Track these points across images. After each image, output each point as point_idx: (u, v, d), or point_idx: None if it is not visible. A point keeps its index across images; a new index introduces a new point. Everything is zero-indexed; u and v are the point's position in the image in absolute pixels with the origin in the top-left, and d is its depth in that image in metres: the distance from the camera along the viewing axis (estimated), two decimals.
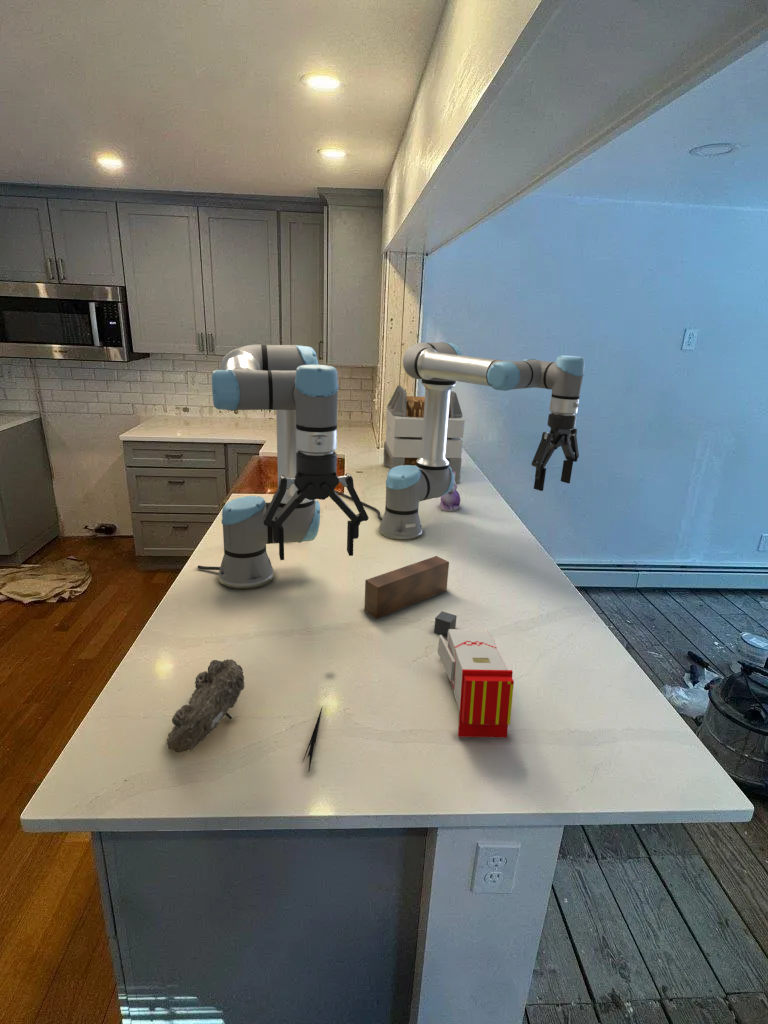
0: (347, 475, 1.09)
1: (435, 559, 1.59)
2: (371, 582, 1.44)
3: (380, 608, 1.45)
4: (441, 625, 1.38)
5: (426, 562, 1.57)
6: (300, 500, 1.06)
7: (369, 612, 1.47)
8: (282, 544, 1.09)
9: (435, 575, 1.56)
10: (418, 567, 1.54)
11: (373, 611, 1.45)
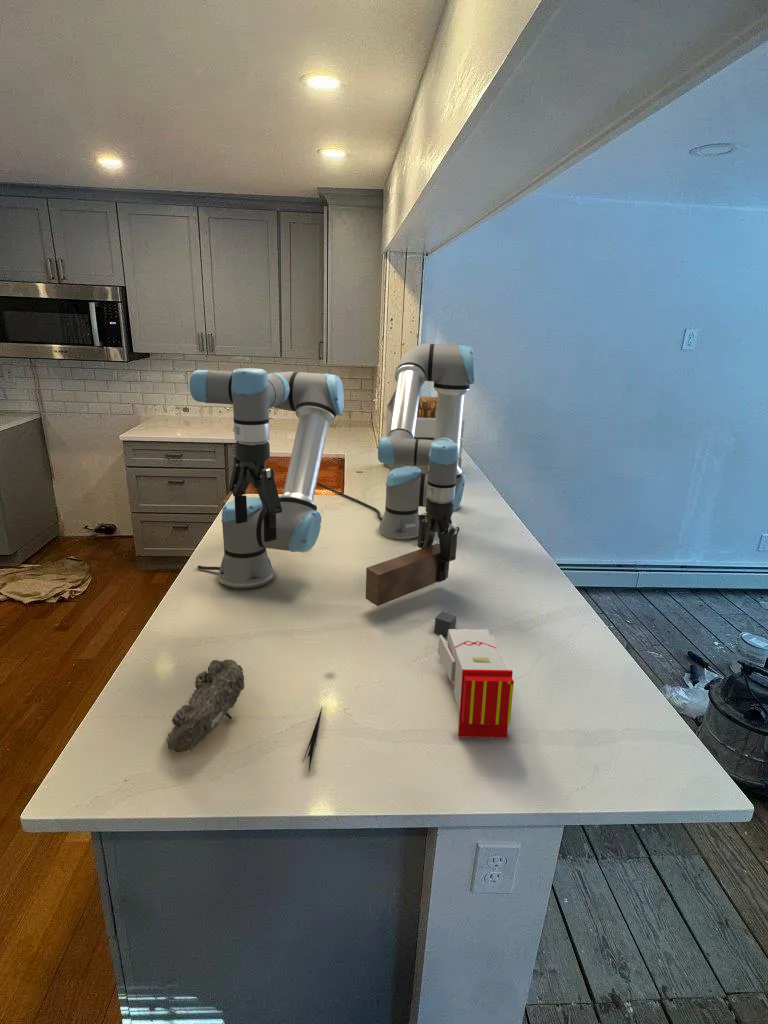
0: (266, 469, 1.22)
1: (436, 546, 1.58)
2: (372, 570, 1.43)
3: (381, 596, 1.44)
4: (441, 625, 1.38)
5: (427, 549, 1.56)
6: (239, 478, 1.29)
7: (370, 600, 1.46)
8: (236, 510, 1.34)
9: (437, 562, 1.55)
10: (419, 554, 1.53)
11: (374, 599, 1.45)
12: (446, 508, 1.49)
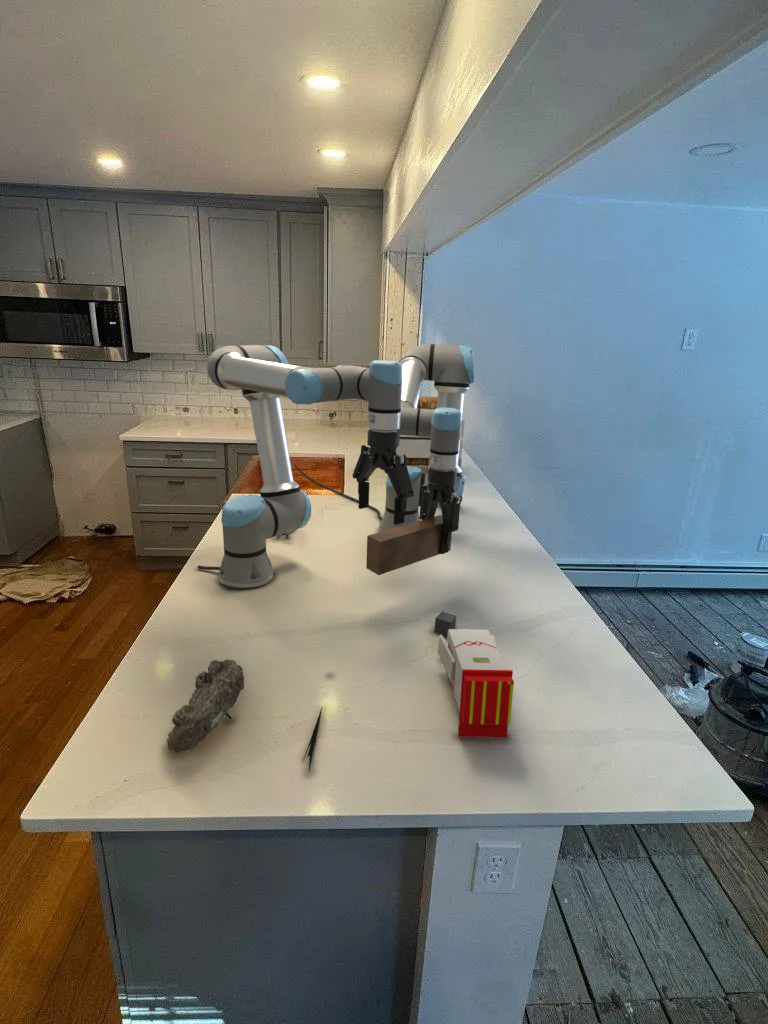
0: (399, 455, 1.29)
1: (439, 518, 1.55)
2: (373, 537, 1.40)
3: (382, 565, 1.41)
4: (441, 625, 1.38)
5: (429, 520, 1.53)
6: (368, 465, 1.36)
7: (371, 569, 1.43)
8: (359, 496, 1.42)
9: (439, 533, 1.52)
10: (421, 524, 1.50)
11: (375, 568, 1.41)
12: (448, 476, 1.46)
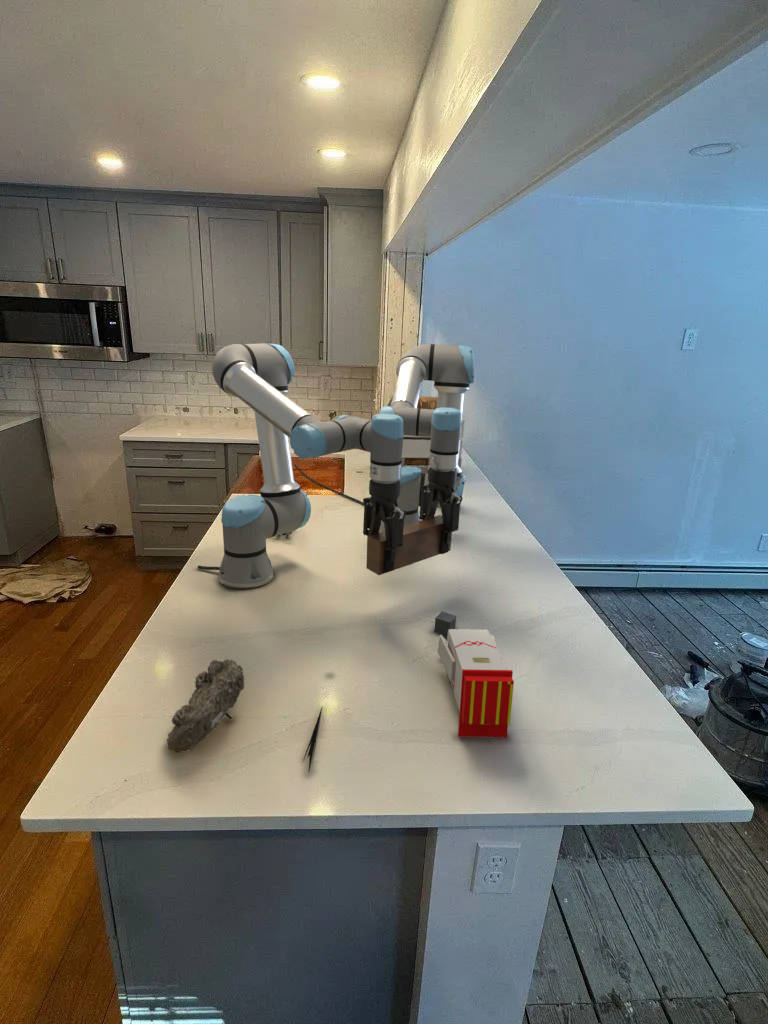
0: (400, 511, 1.34)
1: (439, 518, 1.55)
2: (373, 537, 1.40)
3: (382, 565, 1.41)
4: (441, 625, 1.38)
5: (429, 520, 1.53)
6: (373, 516, 1.40)
7: (371, 569, 1.43)
8: None
9: (439, 533, 1.52)
10: (421, 524, 1.50)
11: (375, 568, 1.41)
12: (448, 476, 1.46)
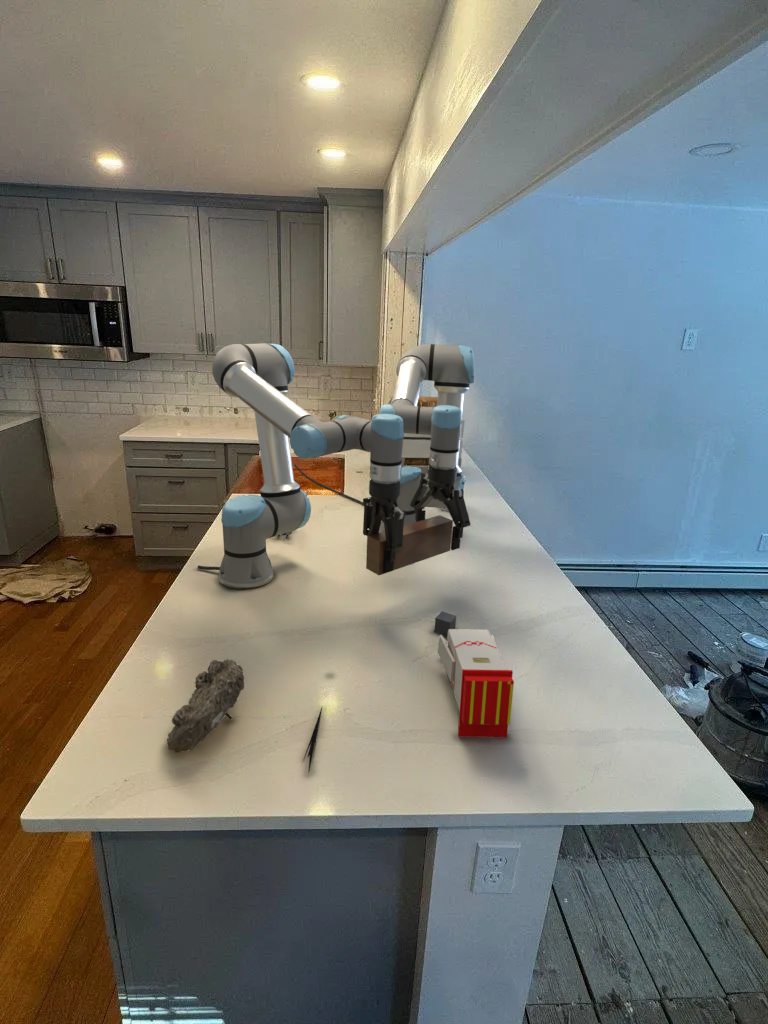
0: (400, 511, 1.34)
1: (438, 518, 1.55)
2: (373, 538, 1.40)
3: (382, 565, 1.41)
4: (441, 625, 1.38)
5: (429, 520, 1.53)
6: (373, 516, 1.40)
7: (371, 569, 1.43)
8: None
9: (439, 533, 1.52)
10: (421, 525, 1.50)
11: (375, 568, 1.41)
12: (449, 474, 1.46)
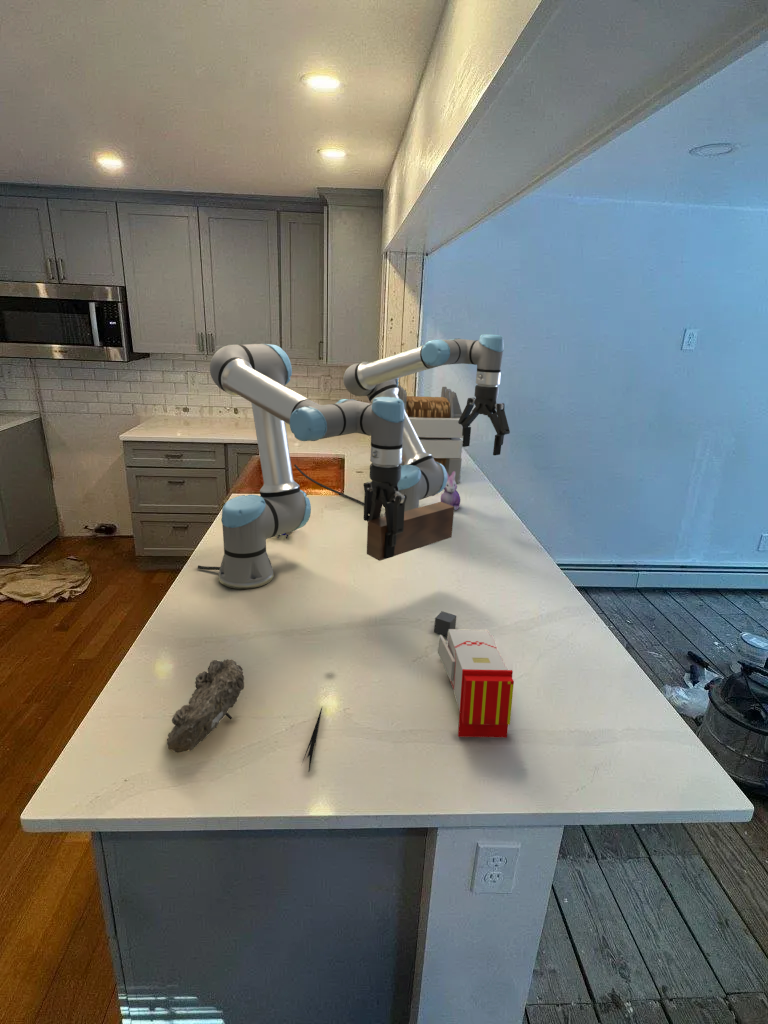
0: (401, 495, 1.33)
1: (440, 504, 1.54)
2: (374, 522, 1.39)
3: (383, 550, 1.39)
4: (441, 625, 1.38)
5: (430, 506, 1.52)
6: (373, 501, 1.38)
7: (372, 555, 1.41)
8: None
9: (440, 519, 1.50)
10: (422, 510, 1.48)
11: (376, 554, 1.40)
12: (492, 390, 1.78)
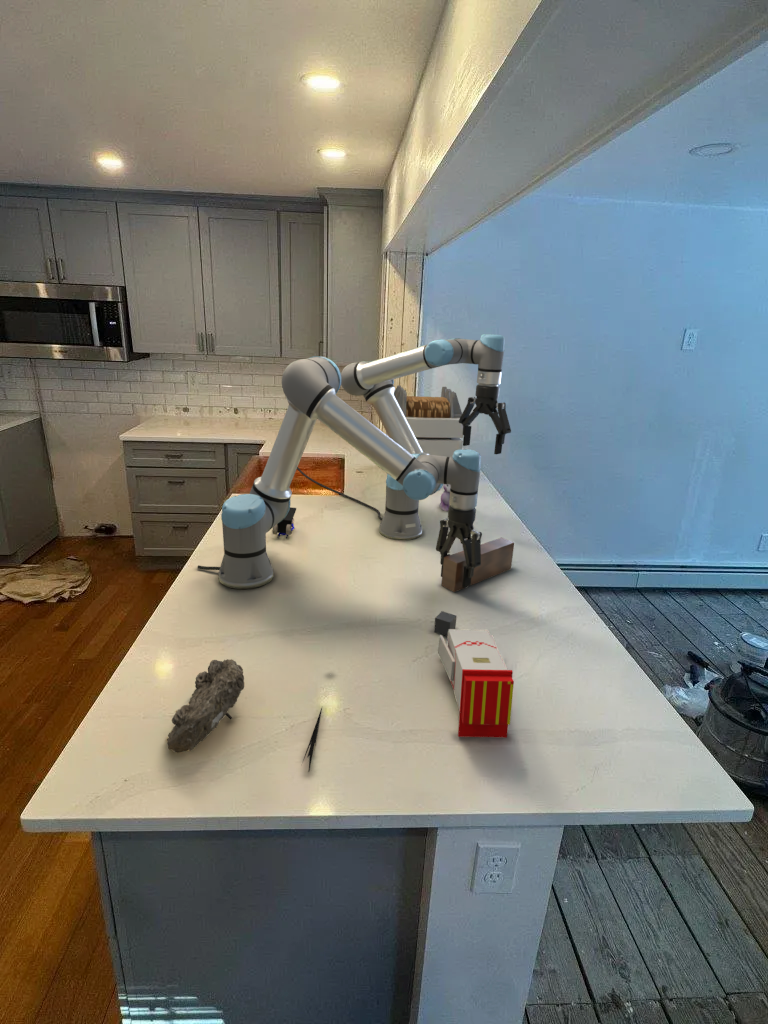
0: (477, 532, 1.53)
1: (501, 540, 1.75)
2: (450, 559, 1.60)
3: (457, 583, 1.60)
4: (441, 625, 1.38)
5: (493, 542, 1.72)
6: (449, 537, 1.59)
7: (446, 586, 1.62)
8: (442, 566, 1.64)
9: (503, 554, 1.71)
10: (488, 546, 1.69)
11: (451, 586, 1.61)
12: (494, 390, 1.79)
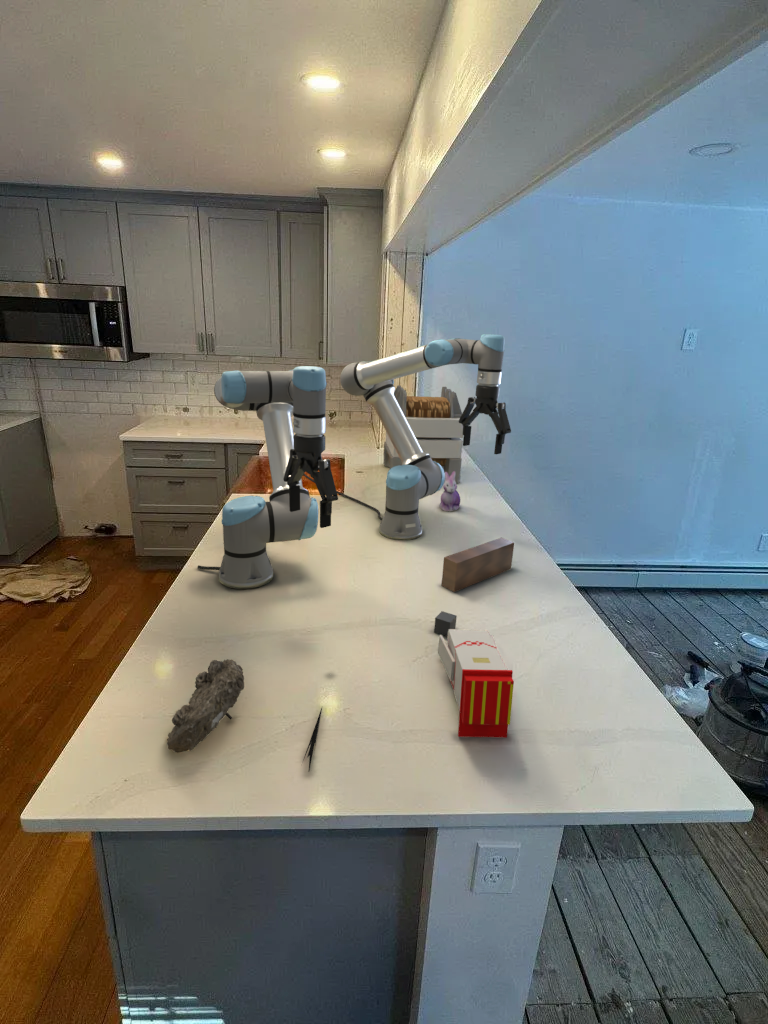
0: None
1: (501, 540, 1.75)
2: (450, 559, 1.60)
3: (457, 583, 1.60)
4: (441, 625, 1.38)
5: (493, 542, 1.72)
6: (296, 468, 1.38)
7: (446, 586, 1.62)
8: (290, 499, 1.44)
9: (503, 554, 1.71)
10: (488, 546, 1.69)
11: (451, 586, 1.61)
12: (494, 390, 1.79)
